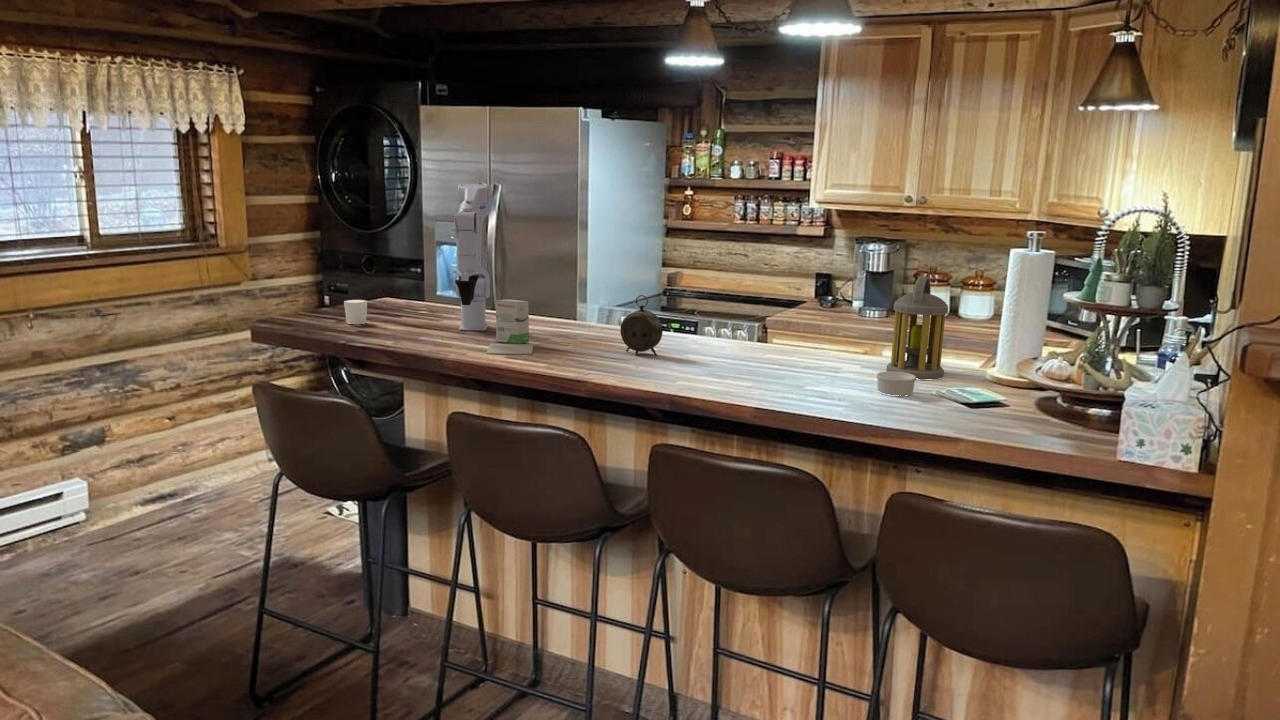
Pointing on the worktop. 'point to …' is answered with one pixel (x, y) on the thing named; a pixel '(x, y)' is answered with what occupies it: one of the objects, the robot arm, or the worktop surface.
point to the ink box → (512, 321)
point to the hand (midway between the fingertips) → (467, 302)
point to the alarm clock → (641, 330)
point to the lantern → (918, 333)
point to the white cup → (356, 311)
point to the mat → (510, 349)
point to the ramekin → (896, 383)
